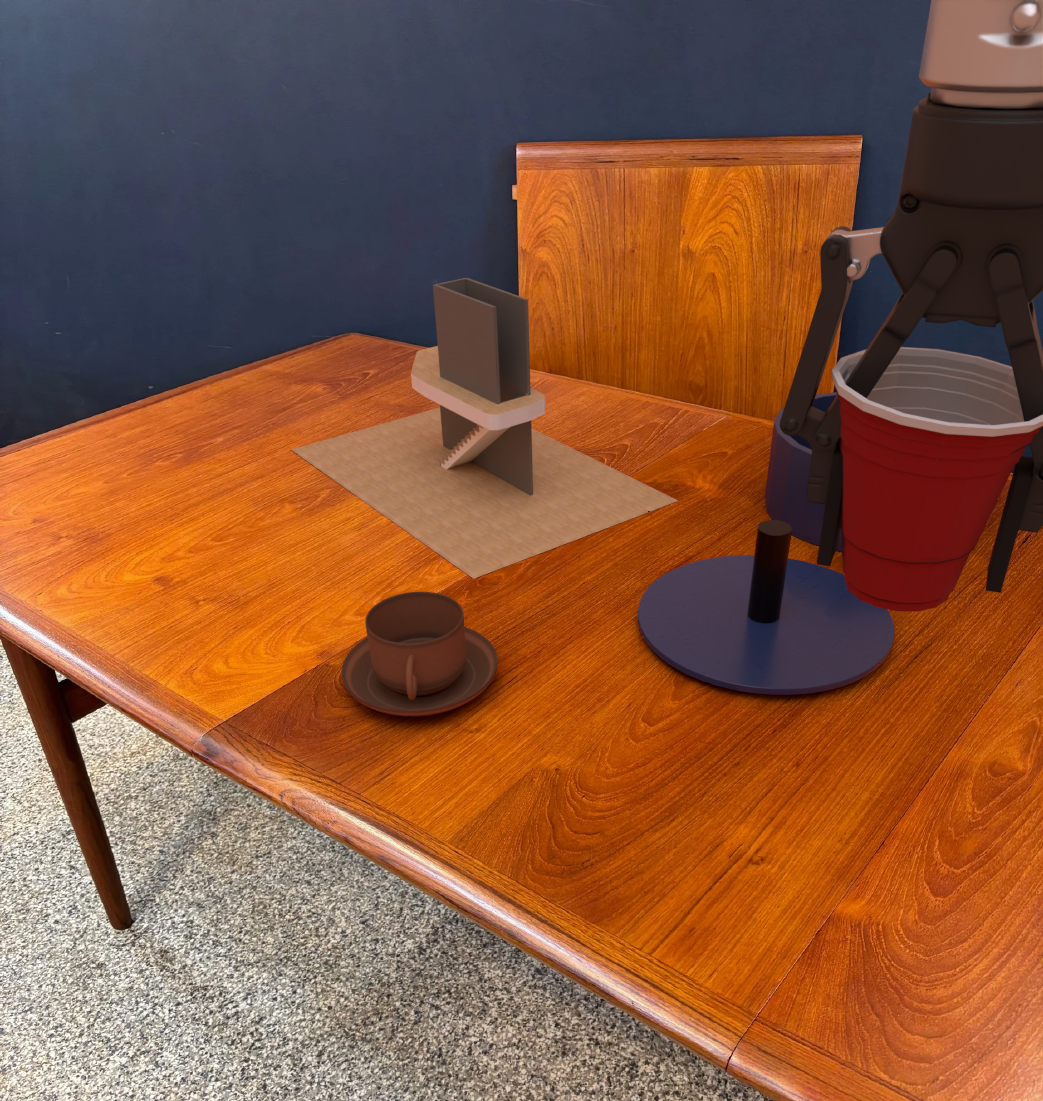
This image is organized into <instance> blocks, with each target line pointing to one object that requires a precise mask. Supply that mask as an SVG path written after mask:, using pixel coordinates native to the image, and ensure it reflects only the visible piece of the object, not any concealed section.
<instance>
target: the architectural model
mask: <svg viewBox="0 0 1043 1101" xmlns="http://www.w3.org/2000/svg"><path fill="white" fill-rule="evenodd" d="M432 290H433V292H432V294H433V304H434V317H435V328H436V329H435V330H436V342H437V345H434V346H432V347H427V348H424V349H420V350H418V351H416V354H415V357H414V360H413V362H412V363H413V364H412V367H411V371H410V377H411V387H412V389H413V390H414V391H416V392H417V393H418V394H420V395H421V396H422V397H424V398H426V399H429V400H430V401H432V402H434V403H436V404H438V405H439V407H437V408H433V409H429V410H426V411H422V412H419V413H415V414H412V415H409V416H405V417H401V418H398V419H394V420H389V421H387V422H383V423H379V424H376V425H372V426H370V427H365V428H363V429H357V430H355V431H352V432H348V433H344V434H341V435H338V436H334V437H330V438H327V439H323V440H319V441H316V442H313V443H309V444H305V445H301V446H298V447H295V448H291V449H290V450H291V451H292V452H294V453H295V454H296V455H298V456H299V457H300V458H302V459H303V460H305V461H306V462H307V463H309V464H311V465H312V466H313V467H314V468H316V469H318V470H319V471H321V473H323V474H325V475H326V476H328V477H329V478H330V479H331V480H333V481H334V482H336V483H338V485H340V486H341V487H343V488H344V489H345V490H347V491H348V492H350V493H351V494H352V495H354V496H356V497H357V498H358V499H360V500H361V501H363V502H364V503H366V504H367V505H368V506H370V507H371V508H373V510H376V511H377V512H378V513H380V514H381V515H383V517H385V518H387V519H388V520H390V522H393V523H394V524H395V525H396V526H398V527H399V528H402V530H404V531H405V532H406V533H408V534H409V535H411V536H412V537H414V538H415V539H416V540H418V541H419V542H421V543H422V544H424V545H425V546H426V547H428V548H429V549H430V550H432V551H434V552H435V553H436V554H437V555H439V556H440V557H442V558H444V560H446V561H448V562H449V563H450V564H452V565H453V566H455V567H456V568H458V569H459V570H460V571H462V572H463V573H464V574H466V575H468V576H469V577H471V578H472V579H473V580H474V579H477V578H479V577H483V576H485V575H487V574H490V573H493V572H496V571H498V570H500V569H503V568H506V567H509V566H511V565H514V564H517V563H519V562H522V561H524V560H527V559H529V558H532V557H535V556H537V555H540V554H542V553H545V552H548V551H550V550H553V549H555V548H559V547H561V546H563V545H566V544H568V543H572V542H574V541H577V540H579V539H582V538H585V537H587V536H590V535H593V534H595V533H597V532H600V531H603V530H605V529H608V528H611V527H613V526H616V525H618V524H621V523H624V522H627V521H629V520H632V519H634V518H637V517H640V516H643V515H645V514H648V513H649V512H648V511H650V512H653V511H655V510H658V509H661V508H664V507H666V506H669V505H671V504H673V503H676V502H679V500H678V499H675V498H674V497H671V496H670V495H668V494H666V493H663V492H662V491H660V490H657V489H655V488H654V487H651V486H649V485H647V484H645V483H643V482H642V481H639V480H638V479H635V478H634V477H631V476H629V475H627V474H625V473H624V472H621V471H619V470H617V469H615V468H613V467H611V466H609V465H607V464H606V463H604V462H601V461H599V460H598V459H595V458H593V457H591V456H589V455H586V454H585V453H582V452H581V451H579V450H576V449H574V448H573V447H570V446H569V445H567V444H564V443H562V442H560V441H558V440H556V439H555V438H552V437H551V436H548V435H546V434H544V433H542V432H540V431H538V430H536V429H535V428H532V420H534V419H537V418H539V417H541V416H543V415H545V414H546V413H547V412H546V395H545V394H543V393H542V392H540V391H538V390H536V389H535V388H533V387H531V359H530V356H531V355H530V323H529V320H530V318H529V299H528V298H525V297H522V296H521V295H517V294H514V293H512V292H509V291H506V290H503V289H500V288H497V287H495V286H491V285H489V284H486V283H483V282H480V281H477V280H475V279H472V278H468V277H463V278H459V279H453V280H449V281H445V282H440V283H436V284H432Z"/></svg>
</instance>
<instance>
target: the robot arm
mask: <svg viewBox="0 0 1043 1101" xmlns="http://www.w3.org/2000/svg"><path fill="white" fill-rule="evenodd" d="M921 54H922V55H921V61H920V65H919V73H918V79H920V81H921V82H922V84H923V85H925V86H926V87H930V88H931V89H930V91H929V92H928V93H927V96H926V97H924V98H921V99H920V100H919V102H918V105H916V106H914V107H913V110H912V114H911V121H910V126H909V127H910V129H909V133H908V139H907V145H906V151H905V156H904V162H903V169H902V175H901V181H900V187H899V193H898V198H897V202H896V206H895V209H894V210H893V213H892V214H891V215H890V217H889V218H888V219H887V221H886V223H885V225H884V226H882V227H874V228H865V229H858V230H852V229H851V228H849V227H848V226H845V225H839V226H836V227H835V228H834V229H833V230H831V231H830V233H829V235H828V236H827V237H826V239H825V240H824V242H823V243H822V245H821V246H820V251H819V254H820V255H819V258H820V259H819V260H820V281H821V282H820V288H821V289H820V293H819V296H818V299H817V301H816V306H815V309H814V312H813V315H812V318H811V322H810V324H809V328H808V331H807V334H806V338H805V339H804V343H803V347H802V350H801V354H800V357H799V358H798V359H799V360H798V363H797V367H796V369H795V372H794V376H793V378H792V382H791V385H790V389H789V392H788V395H787V398H786V401H785V405H784V407H783V408H784V411H783V414H782V417H781V420H780V429H781V431H782V432H783V433H784V434H786V435H789V436H793V435H797V436H799V437H801V438H803V439H805V440H806V441H808V443H809V444H810V446H811V448H812V456H811V463H810V470H809V478H808V485H807V492H806V494H807V498H808V501H809V502H811V503H818V504H825V511H824V517H823V524H822V531H821V537H820V544H819V546H818V550H817V557H816V558H817V559H816V565H819V566H823V567H831V565H832V562H833V559H834V556H835V554H836V552H837V551H836V548H837V545H838V540H839V534H840V510H841V500H842V491H843V455H842V453H841V451H840V437H841V417H840V401H839V397H837V396H836V398H835V399H834V401H833V402H832V404H831V405H830V407H829V408H828V410H827V411H826V413H825V412H823V411H821V410H819V409H817V408H815V407H812V406H813V403H814V400H815V397H816V395H817V394H818V393H817V392H818V390H819V387H820V384H821V381H822V379H823V376H824V372H825V370H826V366H827V363H828V360H829V357H830V354H831V351H832V348H833V345H834V342H835V339H836V336H837V333H838V331H839V327H840V325H841V321H842V319H843V315H844V312H845V309H846V306H847V303H848V300H849V297H850V295H851V290H852V286H853V283H854V281H858V280H860V279H861V278H863V276H865V274H866V273H867V270H868V268H869V266H870V263H871V260H872V259H873V258H874V257H875V256H878V255H881V254H882V256H883V258H884V260H885V262H886V264H887V266H888V268H889V269H890V272H891V273H892V275H893V278H894V279H895V281H896V283H897V285H898V286H899V289H900V291H901V294H900V296H899V297H898V298H897V301H896V302H895V304H894V306H893V307H892V309H891V310H890V312H889V314H888V315H887V317H886V318H885V319H884V321H883V323H882V325H881V326H880V328H879V330H878V331H877V332H876V334H875V335H874V337H873V339H872V340H871V341H870V343H869V345H868V347H867V348H866V349H865V350H866V351H865V353H864V354H863V356H862V357H861V359H860V360H859V362H858V363H857V365H856V367H855V368H854V370H853V371H852V373H851V374H850V376H849V378H848V380H847V382H846V383H845V384H846V385H847V386H848V387H850V388H851V389H853V390H854V391H856V392H857V393H859V394H860V395H862V396H863V397H865V398H867V397H868V395H869V394H870V392H871V391H872V390H873V388H874V387H875V385H876V384H877V382H878V381H879V379H880V378H881V376H882V375H883V373H884V372H885V370H886V369H887V367H888V366H889V364H890V363H891V361H892V360H893V358H894V357H895V355H896V354H897V352H898V351H899V349H900V348H901V347H903V345H904V344H905V343H906V341H907V340H908V339H909V337H910V336H911V335H912V333H913V332H914V330H915V328H916V327H917V326H918V324H919V323H920V321H921V320H922V318H923V319H925V323H931V324H946V323H947V324H948V323H953V322H957V321H961V322H962V321H963V322H966V323H967V324H971V325H974V326H977V327H985V328H987V327H988V328H996V327H997V324H1000V326H1001V329H1002V334H1003V338H1004V343H1005V346H1006V349H1007V351H1008V355H1009V356H1008V357H1009V360H1010V366H1011V367H1012V369H1013V373H1014V378H1015V382H1016V387H1017V391H1018V395H1019V400H1020V404H1021V409H1022V413H1023V418H1024V422H1027V421H1030V420H1032V419H1035V418H1037V417H1039V416H1041V415H1043V345H1042V341H1041V336H1040V332H1039V326H1038V320H1037V314H1036V308H1035V304H1034V300H1035V299H1036V298H1037V297H1038V296H1039V295H1041V293H1043V0H931V2H930V7H929V13H928V18H927V24H926V31H925V36H924V43H923V49H922V53H921ZM1029 448H1030V453H1031V456H1025V455H1022V456H1021V457H1020V459H1019V461H1018V463H1016V464H1015V465H1014V467H1013V472H1012V476H1011V479H1010V483H1009V487H1008V491H1007V495H1006V498H1005V501H1004V505H1003V510H1002V513H1001V517H1000V520H999V525H998V528H997V532H996V536H995V539H994V543H993V545H992V546H993V547H992V550H991V554H990V558H989V562H988V565H987V572H986V573H987V574H986V584H985V591H986V592H992V593H998V594H1001V593H1002V590H1003V587H1004V583H1005V579H1006V576H1007V572H1008V568H1009V565H1010V561H1011V558H1012V555H1013V551H1014V547H1015V545H1016V544H1015V543H1016V540H1017V536H1018V534H1019V533H1018V532H1019V531H1022V532H1030V533H1039V532H1040V530H1041V529H1042V528H1043V427H1042V428H1040V430H1039V432H1038V433H1036V434H1035V435H1034V437H1033V439H1032V441H1031V443H1030V445H1029Z"/></svg>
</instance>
